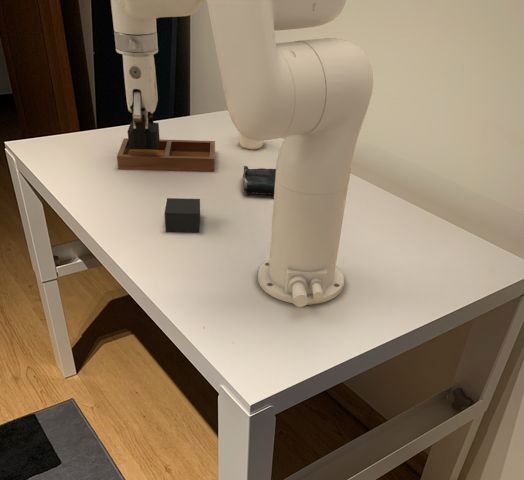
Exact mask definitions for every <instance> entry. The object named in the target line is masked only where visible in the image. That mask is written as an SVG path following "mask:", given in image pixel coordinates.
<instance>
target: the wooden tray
mask: <svg viewBox="0 0 524 480" xmlns="http://www.w3.org/2000/svg"><path fill="white" fill-rule="evenodd" d="M116 160H117V167H118V168H117V169H118V170H139V171H141V170H142V171H174V172H175V171H177V172H178V171H179V172H180V171H181V172H215V170H216V169H215V167H216V141H215V140H192V139H191V140H189V139H162V138H161V139H160V141H159V145H158V149H157V150H149V149H129V141H128V137H126V138H123V140H122V142H121V145H120V147H119V150H118V152H117V155H116Z"/></svg>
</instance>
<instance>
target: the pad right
mask: <svg viewBox="0 0 524 480" xmlns="http://www.w3.org/2000/svg"><path fill="white" fill-rule="evenodd" d="M164 227H165V233H175V234H176V233H179V234H180V233H183V234H200V232H201V231H200V229H201V199H200V198H179V197H178V198H177V197H167V198H166V201H165V207H164Z"/></svg>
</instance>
